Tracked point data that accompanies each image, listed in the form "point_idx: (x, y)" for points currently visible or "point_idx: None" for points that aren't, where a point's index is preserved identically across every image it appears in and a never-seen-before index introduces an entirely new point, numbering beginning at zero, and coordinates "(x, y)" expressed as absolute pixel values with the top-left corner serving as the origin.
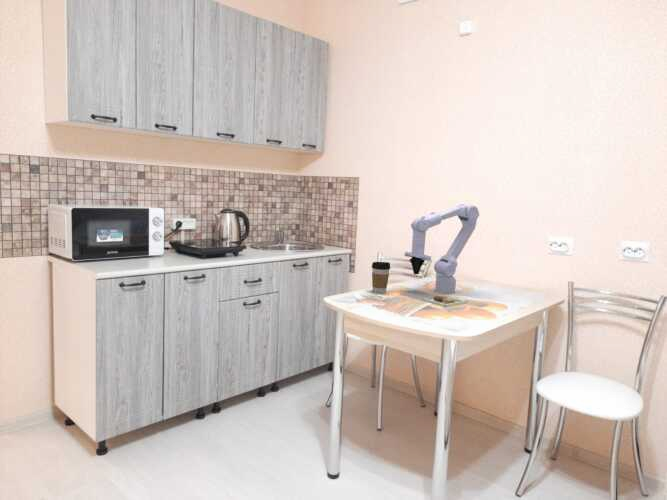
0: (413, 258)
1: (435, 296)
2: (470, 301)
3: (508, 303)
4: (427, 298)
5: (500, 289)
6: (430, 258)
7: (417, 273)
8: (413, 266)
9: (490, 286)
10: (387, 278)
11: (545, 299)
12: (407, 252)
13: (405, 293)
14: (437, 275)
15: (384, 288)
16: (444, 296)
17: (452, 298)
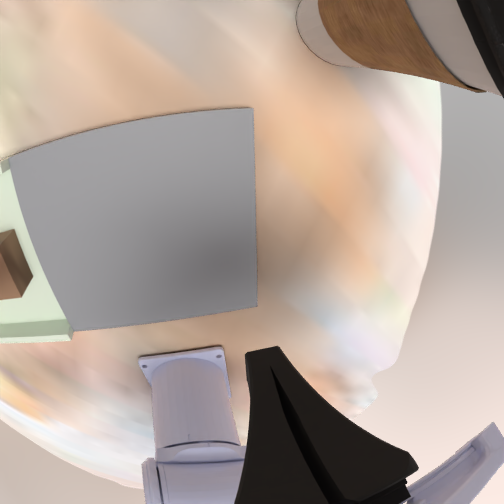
0: (373, 501)
1: (3, 259)
2: (61, 386)
3: (52, 430)
4: (53, 229)
5: None
6: None
7: (248, 375)
8: (307, 416)
9: None
10: (367, 3)
11: (100, 472)
12: (485, 474)
13: (230, 169)
14: (208, 444)
15: (317, 4)
16: (60, 332)
17: (21, 335)
